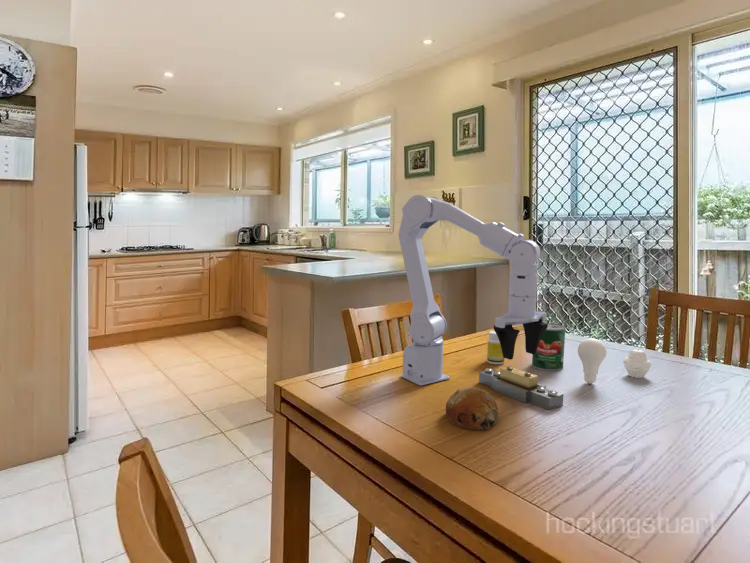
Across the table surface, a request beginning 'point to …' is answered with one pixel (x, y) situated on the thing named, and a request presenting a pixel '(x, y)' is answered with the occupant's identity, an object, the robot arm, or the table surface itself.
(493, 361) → the supplement bottle
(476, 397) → the bread roll
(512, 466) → the table surface
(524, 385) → the link
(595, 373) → the lightbulb
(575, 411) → the table surface
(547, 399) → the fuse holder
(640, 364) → the muffin
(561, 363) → the canned tomato
